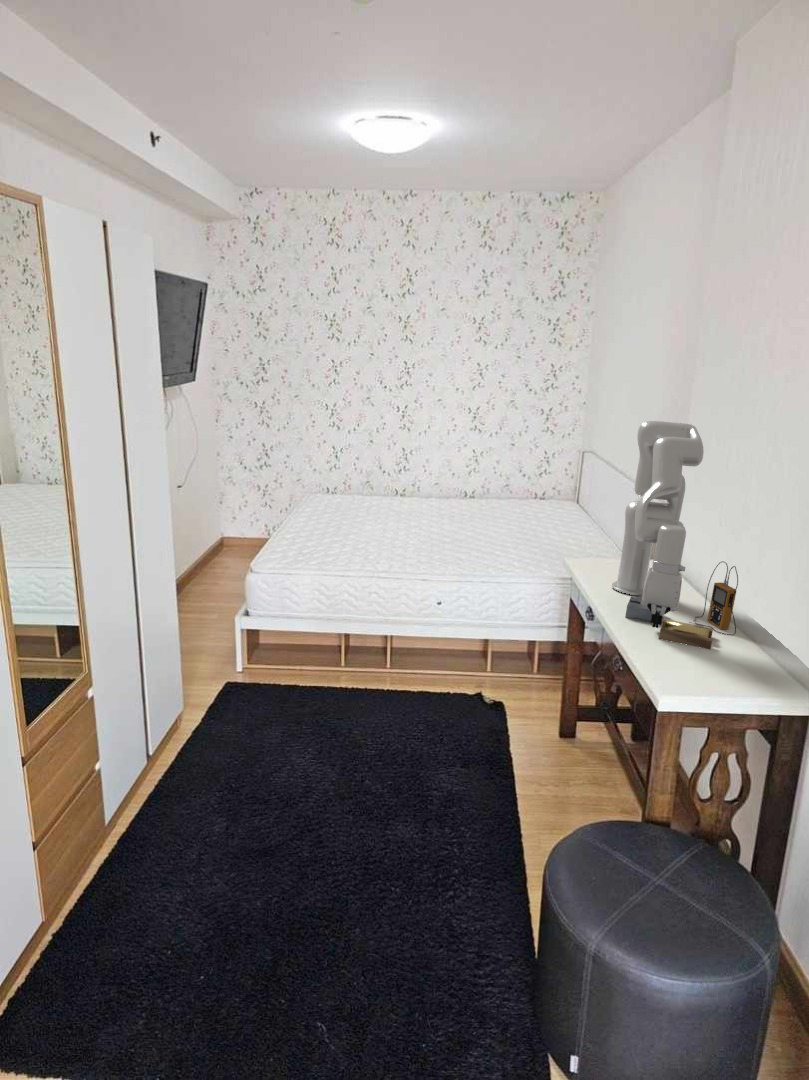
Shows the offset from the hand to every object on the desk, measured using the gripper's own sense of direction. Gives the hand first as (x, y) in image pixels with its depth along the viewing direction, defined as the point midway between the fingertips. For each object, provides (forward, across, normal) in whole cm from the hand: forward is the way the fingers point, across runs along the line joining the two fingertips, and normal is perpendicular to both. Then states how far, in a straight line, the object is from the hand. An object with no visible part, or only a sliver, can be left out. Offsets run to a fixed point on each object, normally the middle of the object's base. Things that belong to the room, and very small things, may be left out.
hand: (655, 626), depth 215 cm
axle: (0, -9, -1) cm, 9 cm away
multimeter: (+2, -14, -15) cm, 21 cm away
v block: (+2, +4, -12) cm, 13 cm away
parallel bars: (+2, -9, 0) cm, 9 cm away
